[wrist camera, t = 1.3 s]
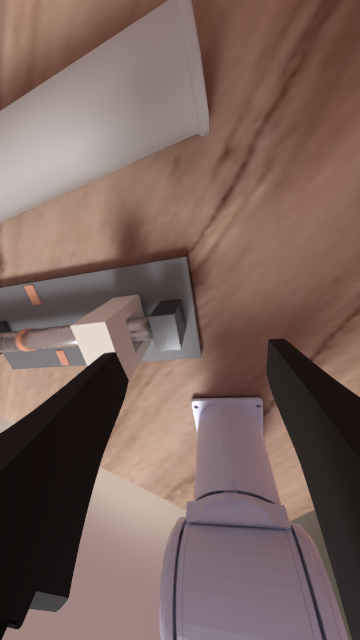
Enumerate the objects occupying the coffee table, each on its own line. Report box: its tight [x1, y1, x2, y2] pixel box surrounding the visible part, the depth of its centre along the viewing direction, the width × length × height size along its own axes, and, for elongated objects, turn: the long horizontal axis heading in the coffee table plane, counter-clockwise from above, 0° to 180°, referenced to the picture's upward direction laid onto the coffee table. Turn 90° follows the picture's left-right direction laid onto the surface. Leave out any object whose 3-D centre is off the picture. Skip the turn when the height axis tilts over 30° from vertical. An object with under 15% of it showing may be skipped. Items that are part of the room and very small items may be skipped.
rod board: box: [0, 256, 202, 369], centre depth 19 cm, size 10×24×5 cm, turn 100°
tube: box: [0, 0, 209, 223], centre depth 13 cm, size 5×5×25 cm
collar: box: [70, 294, 151, 383], centre depth 16 cm, size 5×2×6 cm, turn 10°
